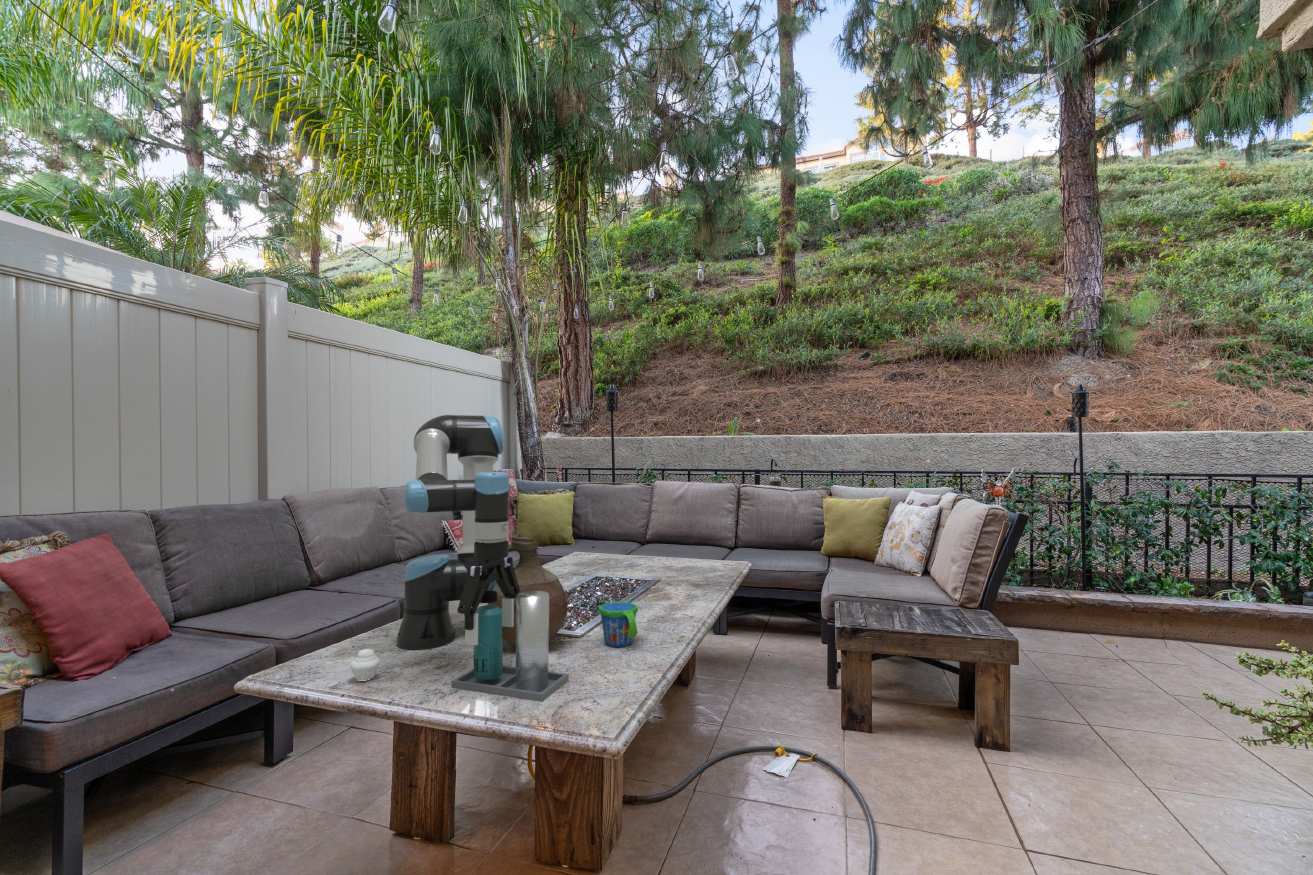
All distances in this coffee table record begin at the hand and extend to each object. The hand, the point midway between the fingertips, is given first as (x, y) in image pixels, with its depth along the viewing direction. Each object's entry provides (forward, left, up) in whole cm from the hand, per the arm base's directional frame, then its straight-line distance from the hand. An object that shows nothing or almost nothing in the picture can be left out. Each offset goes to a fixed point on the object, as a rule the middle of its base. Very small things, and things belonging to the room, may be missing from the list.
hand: (490, 634), depth 126 cm
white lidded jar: (+6, -30, -11) cm, 32 cm away
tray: (0, +5, -11) cm, 12 cm away
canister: (0, +11, -10) cm, 15 cm away
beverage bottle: (+1, 0, -10) cm, 10 cm away
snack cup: (-36, +16, -11) cm, 41 cm away
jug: (-26, -6, -11) cm, 30 cm away
